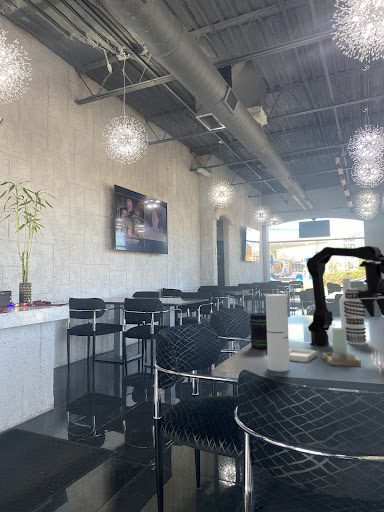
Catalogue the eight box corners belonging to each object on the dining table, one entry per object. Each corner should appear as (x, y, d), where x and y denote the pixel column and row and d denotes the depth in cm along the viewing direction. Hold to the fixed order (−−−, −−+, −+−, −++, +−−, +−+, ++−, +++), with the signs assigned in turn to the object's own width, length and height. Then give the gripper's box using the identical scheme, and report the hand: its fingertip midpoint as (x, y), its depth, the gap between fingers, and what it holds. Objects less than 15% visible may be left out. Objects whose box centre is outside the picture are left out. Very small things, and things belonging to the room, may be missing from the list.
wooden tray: (322, 357, 132) (322, 352, 132) (349, 358, 131) (349, 352, 131) (330, 365, 120) (330, 359, 121) (360, 366, 119) (360, 360, 119)
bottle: (358, 337, 176) (355, 277, 178) (358, 339, 168) (355, 277, 170) (340, 336, 179) (338, 278, 181) (340, 338, 172) (337, 278, 174)
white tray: (291, 353, 141) (291, 348, 141) (316, 356, 135) (316, 350, 135) (281, 359, 131) (280, 354, 131) (307, 362, 125) (307, 356, 126)
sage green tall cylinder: (331, 359, 126) (329, 328, 127) (337, 357, 129) (335, 327, 130) (343, 361, 123) (342, 330, 123) (349, 359, 126) (348, 328, 126)
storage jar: (274, 350, 147) (273, 315, 148) (250, 350, 148) (249, 315, 149) (272, 346, 156) (271, 312, 157) (250, 345, 158) (249, 312, 159)
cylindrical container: (265, 366, 121) (263, 294, 123) (285, 365, 122) (282, 294, 123) (271, 371, 114) (269, 295, 116) (292, 371, 115) (290, 295, 116)
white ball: (329, 361, 123) (329, 353, 123) (333, 360, 125) (333, 351, 125) (337, 363, 121) (337, 354, 121) (341, 361, 123) (341, 352, 123)
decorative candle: (341, 343, 161) (339, 288, 162) (350, 340, 167) (347, 288, 168) (362, 345, 154) (359, 289, 156) (370, 342, 160) (367, 288, 162)
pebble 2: (344, 361, 122) (344, 353, 122) (348, 360, 124) (347, 351, 124) (353, 363, 120) (352, 354, 120) (356, 361, 122) (356, 353, 122)
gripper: (383, 274, 128) (388, 317, 126) (405, 275, 139) (410, 315, 137) (354, 277, 137) (358, 317, 135) (377, 278, 148) (381, 315, 146)
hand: (378, 316), depth 138 cm, fingers open, 9 cm apart
